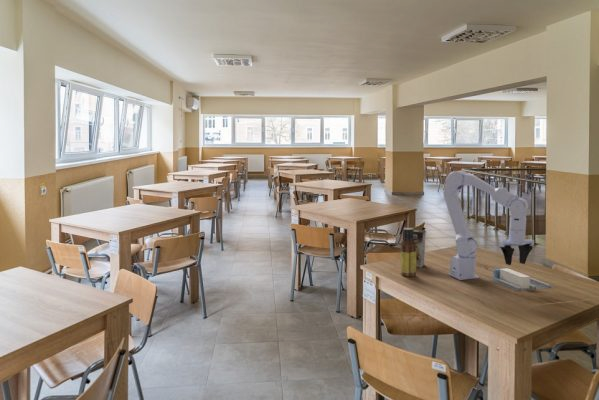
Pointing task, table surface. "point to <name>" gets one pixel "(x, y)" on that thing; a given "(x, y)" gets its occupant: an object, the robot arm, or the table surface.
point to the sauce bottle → (408, 254)
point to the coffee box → (419, 246)
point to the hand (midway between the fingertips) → (515, 263)
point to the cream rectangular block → (515, 278)
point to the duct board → (533, 286)
